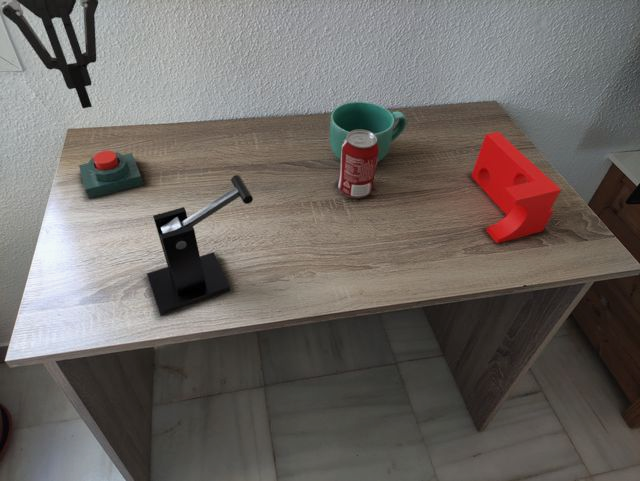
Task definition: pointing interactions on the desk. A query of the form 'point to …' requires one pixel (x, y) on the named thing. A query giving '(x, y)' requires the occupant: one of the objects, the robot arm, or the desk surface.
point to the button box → (110, 176)
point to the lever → (212, 206)
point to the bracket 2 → (514, 189)
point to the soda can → (358, 163)
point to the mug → (365, 125)
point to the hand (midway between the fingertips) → (86, 103)
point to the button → (106, 160)
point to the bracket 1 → (184, 268)
